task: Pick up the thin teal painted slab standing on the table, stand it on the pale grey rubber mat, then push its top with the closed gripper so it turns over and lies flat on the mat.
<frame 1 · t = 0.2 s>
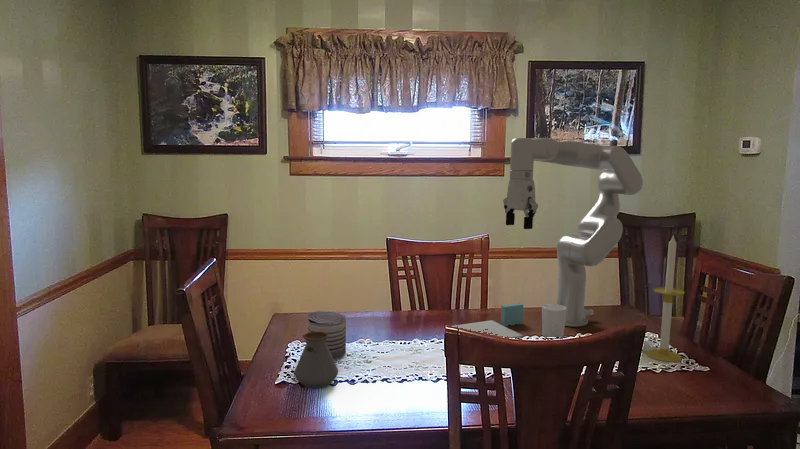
hand: (518, 226, 193), 36 cm above the table, tool pointing down, fingers open, 9 cm apart
can: (326, 354, 173), on the table
candle: (663, 356, 175), on the table
mat: (483, 332, 194), on the table
slab: (511, 324, 204), on the table
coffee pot: (314, 390, 148), on the table
white cup: (552, 336, 192), on the table
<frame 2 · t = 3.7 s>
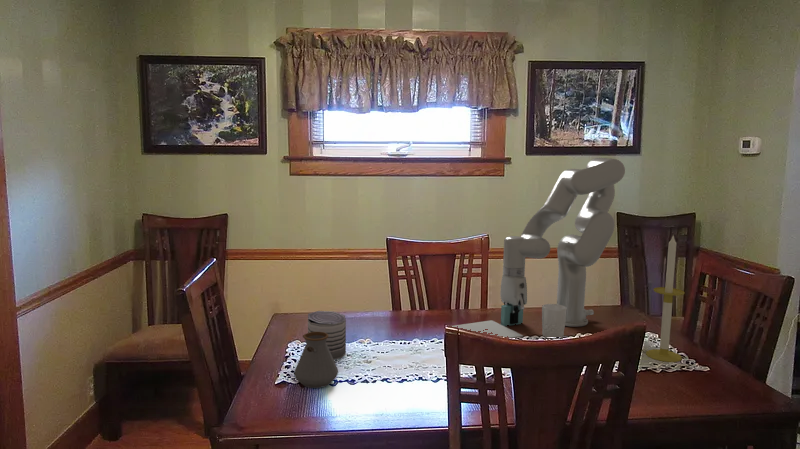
hand: (511, 322, 204), 1 cm above the table, tool pointing down, fingers closed on slab, 1 cm apart
slab: (511, 324, 204), on the table, touching gripper
everything else where it was.
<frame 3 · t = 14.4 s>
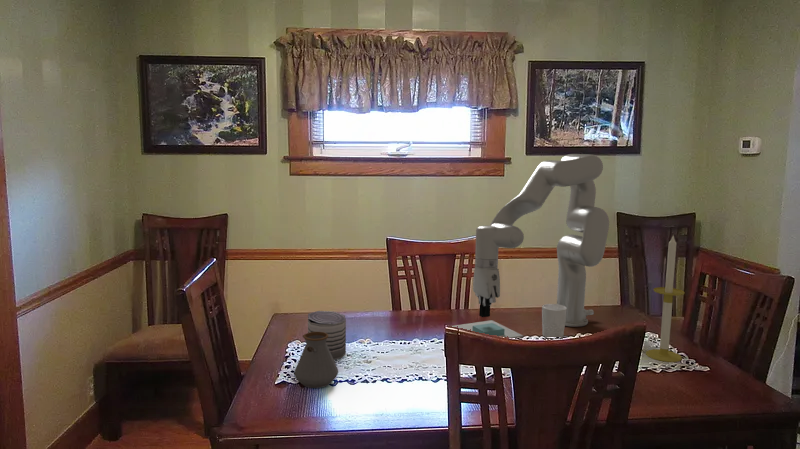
hand: (484, 316, 194), 6 cm above the table, tool pointing down, fingers closed
slab: (482, 327, 195), point 2 cm above the table, tilted 90°, touching mat
everything else where it was.
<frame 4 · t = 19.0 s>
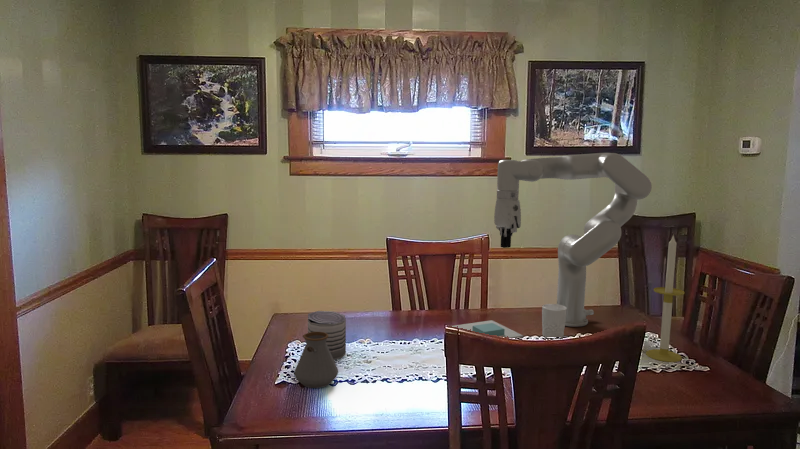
hand: (505, 247, 203), 27 cm above the table, tool pointing down, fingers closed
nothing on the table moved.
at the end: slab tilted 90°; slab inside the target area (1.0 cm from its centre), point 1.6 cm above the table; the gripper is holding nothing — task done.
